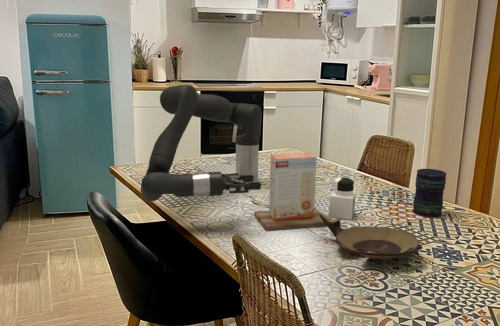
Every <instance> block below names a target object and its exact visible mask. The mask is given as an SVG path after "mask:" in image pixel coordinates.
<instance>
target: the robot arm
mask: <svg viewBox="0 0 500 326" xmlns="http://www.w3.org/2000/svg"><path fill="white" fill-rule="evenodd" d="M159 102H160V105H161V107H162V109H163V110H164V111H165V112H166V113H168V114H171V115H174V116H173V118H172V119H171V121H170V122H169V124H168V125H167V126H166V127H165V128H164V130H162V132H161V133H160V134H159V136H158V137H157V139H156V140H155V142H154V145H153V147H152V151H151V154H150V156H149V161H148V166H147V170H146V173H145V175H144V176H143V177H142V178H141V183H140V193H141V195H142V197H143V198H144V199H145V200H146V201H149V202H154V201H155V202H156V201H157V200H160V199H161V198H162V196H163V195H174V197H178V198H188V197H190V198H191V197H199V198H200V197H203V198H204V197H206V198H207V197H221V196H222V195H223V193H224V191H228V193H229V194H248V193H249V192H250V191H255V190H257V191H258V190H261V188H262V183H261V182H260V181H259V154H260V153H259V149H260V147H259V146H260V139H261V131H262V121H263V120H262V116H263V115H262V114H263V113H262V109H261V107H260V105H257V104H252V103H241V102H240V103H239V102H238V103H236V102H230V101H229V100H228V99H227V98H225V97H223V96H220V95H216V94H210V93H209V94H208V93H207V94H206V93H198V91H197V89H196V88H195V87H194V85H191V84H178V85H173V86H172V85H171V86H168V87H167V88H165V89H163V90H162V91H161V93H160V96H159ZM193 117H196V118H199V119H203V120H208V121H212V122H219V123H221V122H222V123H223V122H228V123H230V124H233V125H235V126H238V127H244V128H246V132H245V133H243V134H240V135H237V136H236V138H235V139H236V140H235V173H234V172H233V173H222V172H221V171H207V172H205V171H203V172H201V171H200V172H195V173H180V174H175V173H171V172H170V170H171V168H172V166H173V162H174V160H175V156H176V153H177V149H178V147H179V144H180V142H181V140H182V137H183V135H184V133H185V131H186V129H187V127H188V125H189V124H190V121H191V119H192V118H193Z"/></svg>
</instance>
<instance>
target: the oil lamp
mask: <svg viewBox="0 0 500 326" xmlns="http://www.w3.org/2000/svg"><path fill="white" fill-rule="evenodd" d="M320 217H321V219H322V220H323V222H324V223H325V224H326V225H327V226H326V227H327V228H328V229H329V231H330V232H331V233H332V234H333V235H332V236H334V237H335V241H336V243H337V245H338V246H340V247H341V248H342V249H345V250H346V251H349V252H350V253H353V254H356V255H359V256H361V257H363V258H367V259H375V260H389V259H396V258H401V257H404V256H408V255H414V254H418V253H419V251H421V250H423V245H421V244H420V241H419V239H418V237H416V236H414V234H411V233H409V232H406V231H404V230H401V229H396V228H392V227H385V226H356V227H355V226H353V227H349V228H343V227H341V219H332V217H329V216H327V215H326V214H325V213H322V212H321V214H320Z"/></svg>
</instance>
